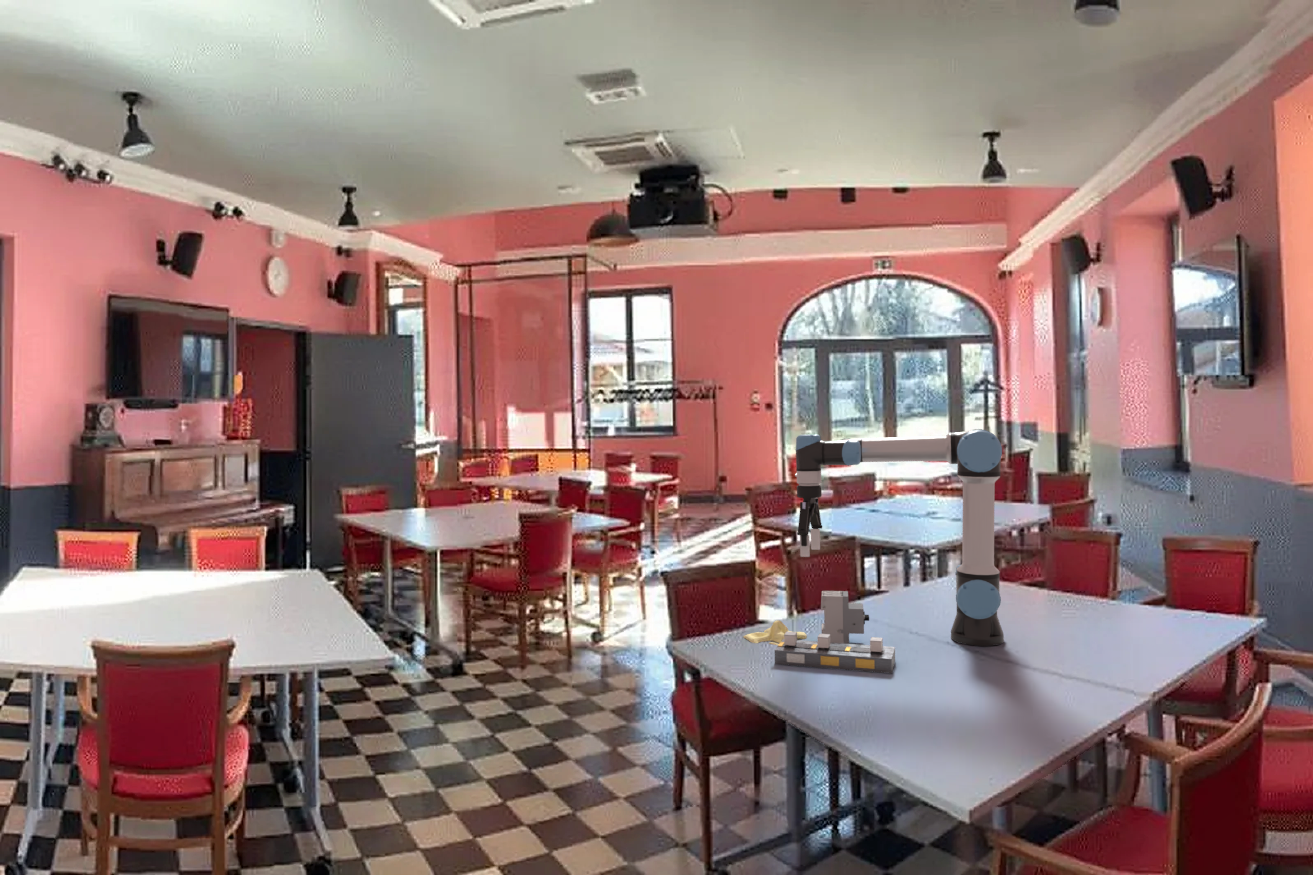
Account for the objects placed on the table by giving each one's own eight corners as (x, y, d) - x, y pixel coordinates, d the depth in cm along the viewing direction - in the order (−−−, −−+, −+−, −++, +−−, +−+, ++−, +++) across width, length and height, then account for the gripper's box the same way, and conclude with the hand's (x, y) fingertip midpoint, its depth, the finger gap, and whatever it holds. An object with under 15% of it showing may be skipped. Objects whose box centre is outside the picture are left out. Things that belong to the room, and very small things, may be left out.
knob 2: (830, 644, 241) (830, 634, 241) (828, 648, 237) (828, 637, 237) (819, 644, 242) (819, 633, 242) (817, 647, 238) (817, 636, 238)
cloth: (734, 642, 265) (734, 622, 264) (764, 629, 279) (764, 610, 279) (797, 653, 251) (797, 632, 251) (826, 639, 266) (825, 619, 265)
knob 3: (882, 648, 236) (882, 637, 236) (881, 652, 232) (881, 641, 232) (871, 647, 237) (871, 637, 237) (870, 651, 233) (870, 640, 233)
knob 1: (797, 642, 244) (797, 632, 244) (794, 645, 241) (794, 635, 240) (786, 641, 245) (786, 631, 245) (784, 645, 242) (784, 634, 241)
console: (895, 661, 239) (895, 646, 239) (891, 674, 227) (891, 658, 227) (783, 652, 250) (783, 638, 250) (774, 664, 238) (774, 649, 238)
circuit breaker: (869, 646, 254) (869, 596, 254) (821, 644, 257) (820, 596, 256) (868, 639, 261) (867, 591, 261) (821, 638, 264) (821, 590, 264)
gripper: (806, 481, 273) (808, 546, 274) (786, 488, 250) (788, 559, 251) (829, 481, 270) (831, 547, 271) (811, 488, 247) (812, 560, 248)
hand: (810, 553), depth 261 cm, fingers open, 13 cm apart
